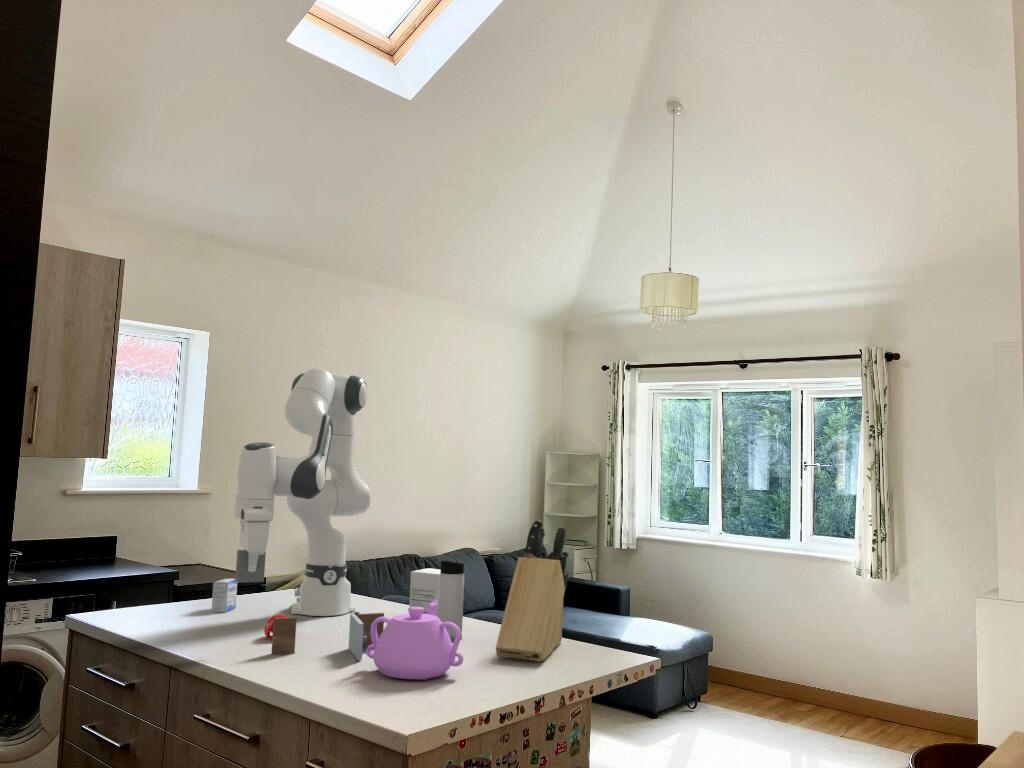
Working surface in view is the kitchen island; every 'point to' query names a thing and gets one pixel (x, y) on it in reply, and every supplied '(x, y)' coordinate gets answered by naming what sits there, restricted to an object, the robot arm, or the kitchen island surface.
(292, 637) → the door frame
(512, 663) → the kitchen island surface
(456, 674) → the kitchen island surface
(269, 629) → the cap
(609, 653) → the kitchen island surface
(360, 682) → the kitchen island surface
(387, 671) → the teapot
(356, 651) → the door
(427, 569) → the supplement box
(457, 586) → the travel mug
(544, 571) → the knife block
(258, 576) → the block
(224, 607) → the medicine box
